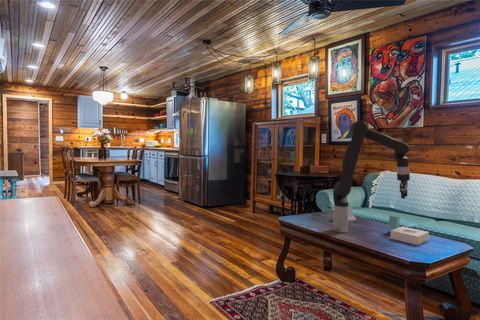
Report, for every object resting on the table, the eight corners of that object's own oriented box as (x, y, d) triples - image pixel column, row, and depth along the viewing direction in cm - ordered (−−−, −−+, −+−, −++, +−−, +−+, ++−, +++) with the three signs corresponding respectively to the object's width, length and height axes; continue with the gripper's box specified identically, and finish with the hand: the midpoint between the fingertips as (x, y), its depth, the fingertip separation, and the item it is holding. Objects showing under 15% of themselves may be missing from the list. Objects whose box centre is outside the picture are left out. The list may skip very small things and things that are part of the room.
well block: (417, 244, 183) (418, 236, 182) (390, 238, 195) (390, 230, 195) (428, 239, 193) (428, 231, 193) (401, 233, 205) (402, 226, 205)
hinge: (341, 222, 234) (338, 209, 237) (336, 223, 238) (333, 210, 240) (356, 219, 242) (353, 207, 245) (351, 220, 246) (348, 208, 249)
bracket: (396, 233, 206) (397, 217, 205) (388, 231, 210) (389, 215, 209) (399, 232, 208) (399, 216, 208) (391, 230, 212) (392, 215, 212)
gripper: (399, 172, 215) (400, 195, 216) (394, 174, 204) (396, 199, 204) (411, 172, 210) (412, 195, 211) (407, 174, 199) (408, 199, 200)
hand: (404, 197), depth 208 cm, fingers open, 8 cm apart
